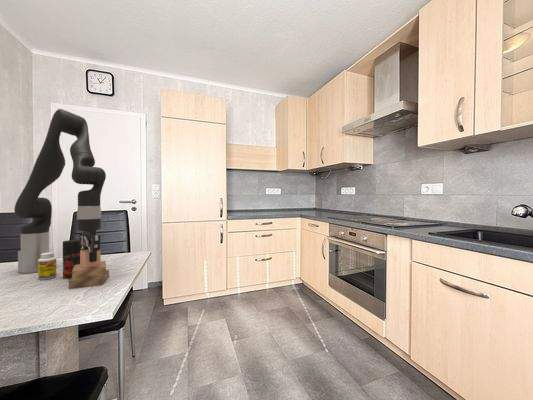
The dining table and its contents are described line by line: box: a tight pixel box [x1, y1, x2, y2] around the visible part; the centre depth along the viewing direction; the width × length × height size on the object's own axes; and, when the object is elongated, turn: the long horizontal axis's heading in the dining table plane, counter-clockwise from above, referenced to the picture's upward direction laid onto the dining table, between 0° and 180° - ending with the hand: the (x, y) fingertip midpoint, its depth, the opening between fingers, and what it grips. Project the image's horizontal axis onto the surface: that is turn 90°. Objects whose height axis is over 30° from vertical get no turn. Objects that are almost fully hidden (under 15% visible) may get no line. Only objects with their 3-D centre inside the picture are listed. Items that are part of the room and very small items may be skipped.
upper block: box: [72, 260, 107, 281], centre depth 90 cm, size 10×10×4 cm
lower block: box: [68, 269, 110, 290], centre depth 90 cm, size 10×10×4 cm
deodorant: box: [62, 239, 82, 280], centre depth 97 cm, size 6×6×15 cm
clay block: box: [80, 249, 102, 268], centre depth 90 cm, size 5×5×6 cm
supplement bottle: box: [37, 251, 57, 281], centre depth 95 cm, size 6×6×10 cm
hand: (89, 260), depth 90 cm, fingers open, 6 cm apart
